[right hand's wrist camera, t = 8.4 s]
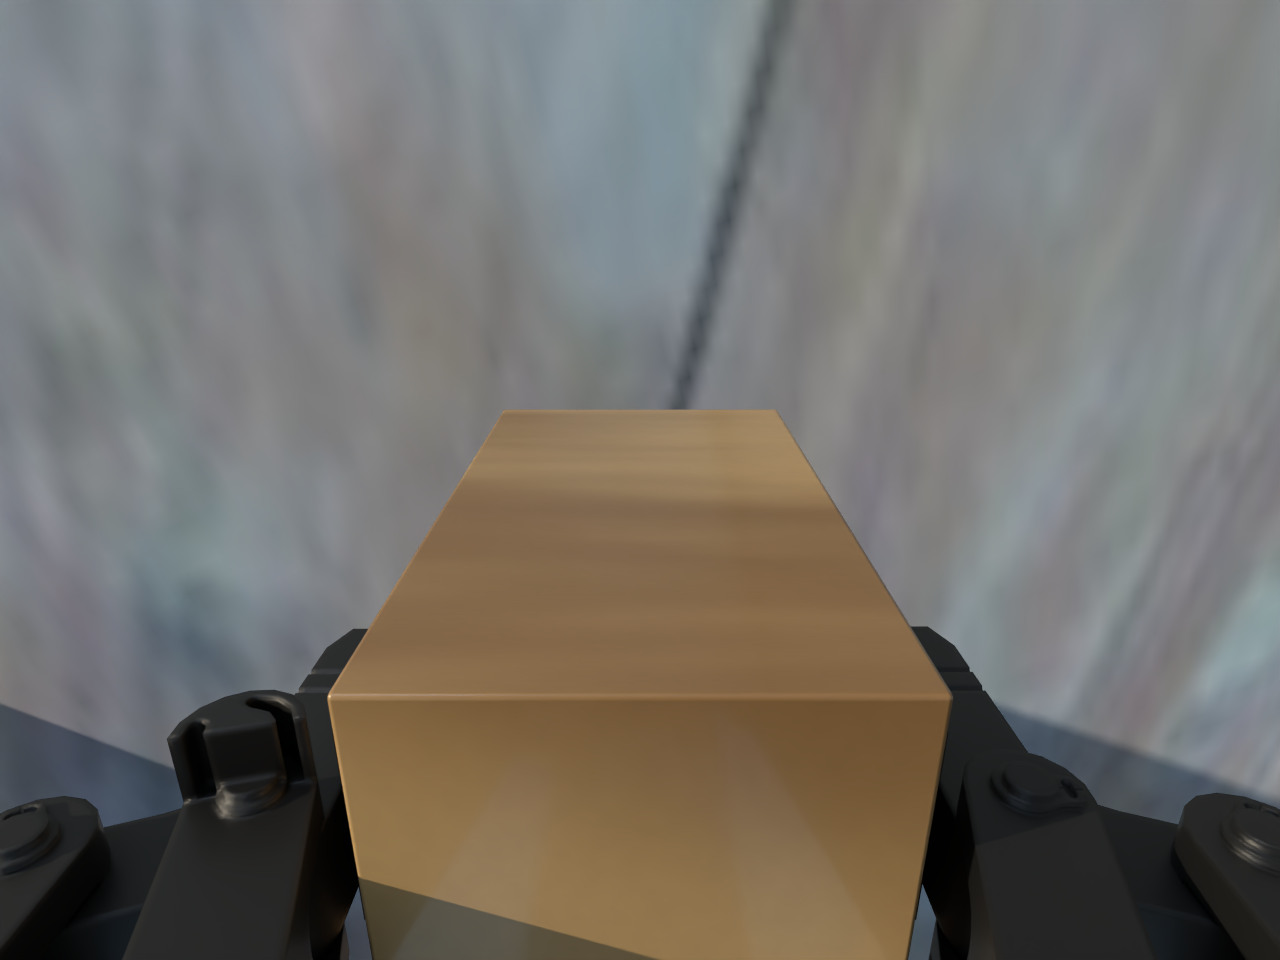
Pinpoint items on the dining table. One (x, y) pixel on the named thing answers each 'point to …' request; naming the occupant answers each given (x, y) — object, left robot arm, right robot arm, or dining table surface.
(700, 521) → the bar
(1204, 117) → the dining table surface
